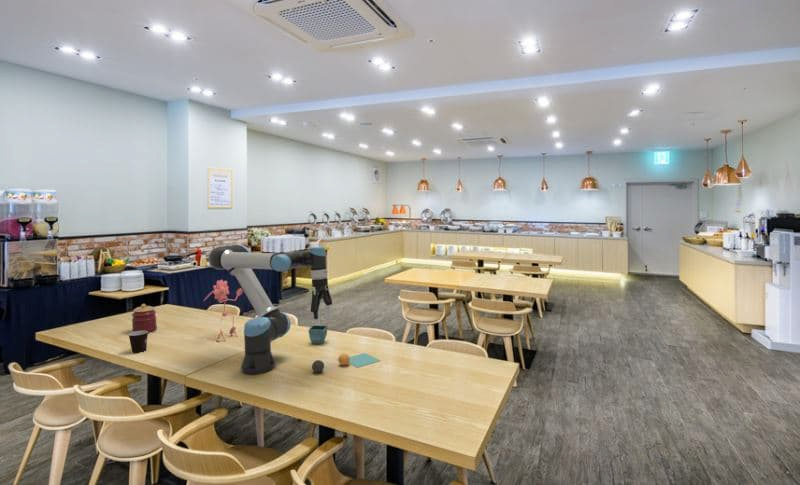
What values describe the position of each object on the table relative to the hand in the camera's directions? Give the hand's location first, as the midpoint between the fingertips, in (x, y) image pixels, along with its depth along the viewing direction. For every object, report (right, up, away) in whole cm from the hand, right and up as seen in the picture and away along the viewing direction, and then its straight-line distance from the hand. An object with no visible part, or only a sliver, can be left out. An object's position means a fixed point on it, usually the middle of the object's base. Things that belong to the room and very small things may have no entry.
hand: (323, 321), depth 193 cm
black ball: (-1, -19, -7) cm, 21 cm away
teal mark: (+18, -21, +8) cm, 29 cm away
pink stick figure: (-68, -19, +44) cm, 83 cm away
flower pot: (-9, -19, +35) cm, 41 cm away
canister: (-122, -18, +56) cm, 136 cm away
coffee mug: (-102, -20, +23) cm, 107 cm away
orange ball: (+10, -19, +2) cm, 21 cm away
